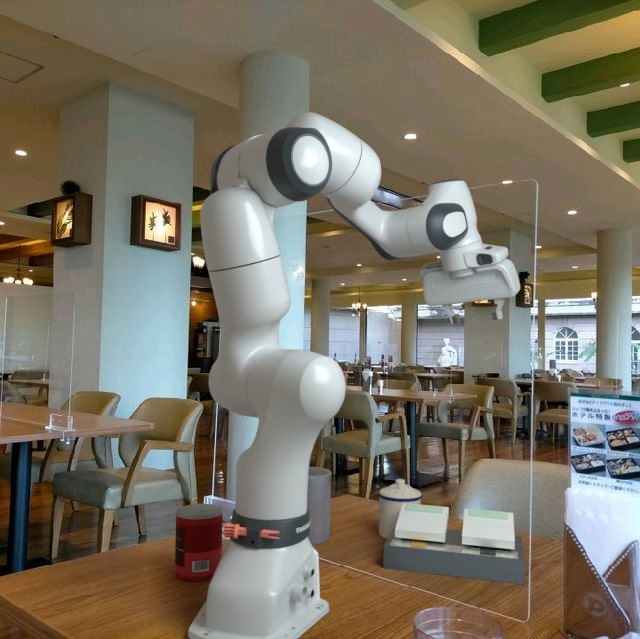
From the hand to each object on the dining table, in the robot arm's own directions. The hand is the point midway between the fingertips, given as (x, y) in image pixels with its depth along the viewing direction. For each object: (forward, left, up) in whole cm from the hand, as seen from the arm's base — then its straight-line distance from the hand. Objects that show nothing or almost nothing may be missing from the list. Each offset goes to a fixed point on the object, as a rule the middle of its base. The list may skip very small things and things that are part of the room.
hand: (476, 321), depth 131 cm
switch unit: (-16, +3, -45) cm, 48 cm away
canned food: (-36, +45, -46) cm, 73 cm away
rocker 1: (-15, +9, -39) cm, 42 cm away
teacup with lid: (-2, +16, -45) cm, 48 cm away
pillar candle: (-11, +33, -46) cm, 57 cm away
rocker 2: (-15, -3, -39) cm, 42 cm away
